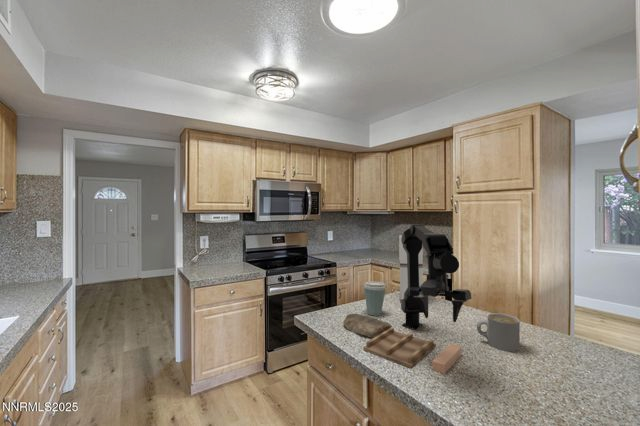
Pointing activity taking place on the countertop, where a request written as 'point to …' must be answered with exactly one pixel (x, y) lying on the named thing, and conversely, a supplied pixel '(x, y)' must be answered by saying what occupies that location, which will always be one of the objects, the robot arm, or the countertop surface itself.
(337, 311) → the countertop surface
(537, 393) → the countertop surface
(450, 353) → the clay strip
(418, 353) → the rack rail
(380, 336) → the rack rail
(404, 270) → the white tall box
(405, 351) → the rack
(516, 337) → the coffee mug
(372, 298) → the disposable coffee cup
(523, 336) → the countertop surface
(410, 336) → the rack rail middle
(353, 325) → the brown rock
